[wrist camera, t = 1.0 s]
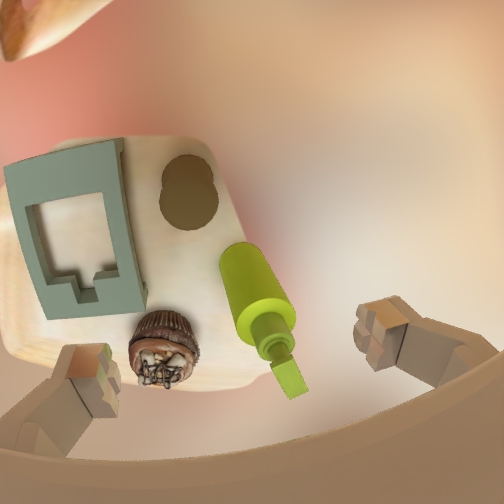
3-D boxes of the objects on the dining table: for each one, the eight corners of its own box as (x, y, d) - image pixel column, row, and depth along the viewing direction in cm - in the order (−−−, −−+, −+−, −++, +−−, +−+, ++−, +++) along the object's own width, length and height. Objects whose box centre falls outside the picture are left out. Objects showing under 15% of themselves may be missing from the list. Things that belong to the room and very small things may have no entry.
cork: (169, 211, 36) (165, 248, 26) (155, 163, 33) (144, 182, 24) (218, 197, 37) (232, 229, 27) (206, 148, 34) (216, 161, 24)
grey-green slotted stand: (20, 160, 29) (3, 167, 25) (122, 137, 31) (114, 140, 27) (56, 301, 37) (47, 320, 33) (147, 291, 40) (145, 311, 36)
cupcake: (136, 355, 44) (131, 405, 35) (129, 303, 40) (119, 352, 31) (197, 355, 46) (203, 405, 37) (197, 303, 42) (204, 353, 33)
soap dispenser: (233, 295, 43) (270, 412, 25) (211, 254, 40) (239, 368, 22) (272, 277, 43) (331, 385, 25) (254, 234, 40) (313, 335, 22)
